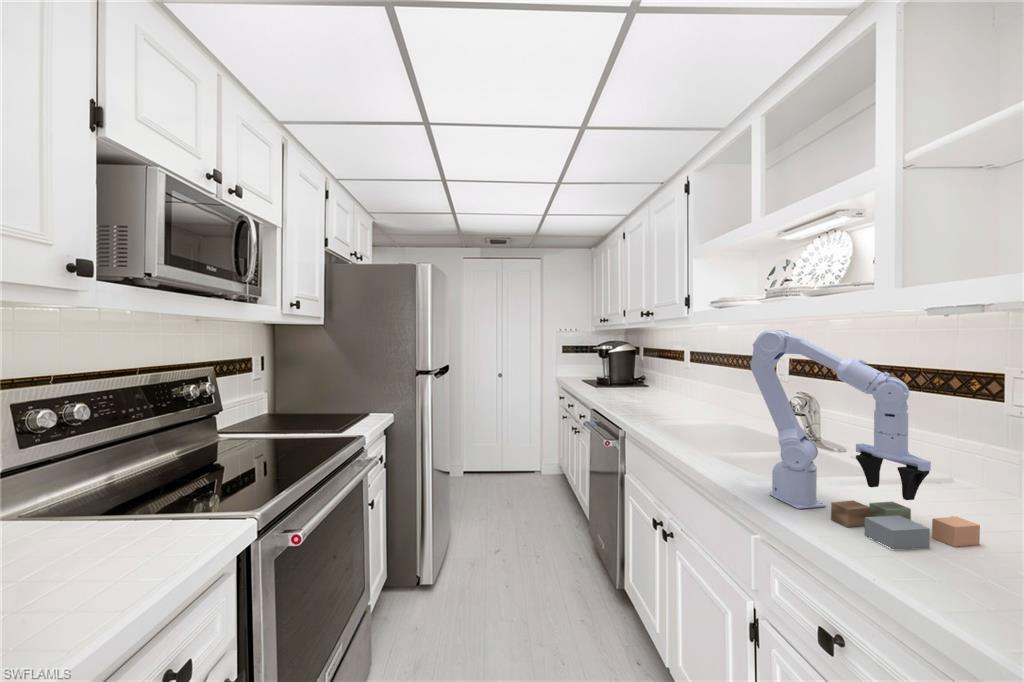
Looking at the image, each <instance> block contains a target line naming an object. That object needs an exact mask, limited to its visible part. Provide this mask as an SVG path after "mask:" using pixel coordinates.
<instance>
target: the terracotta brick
mask: <svg viewBox="0 0 1024 682" xmlns="http://www.w3.org/2000/svg"><path fill="white" fill-rule="evenodd" d="M931 522H932V524H931V525H932V527H931V529H932V530H931V538H933V539H935V540H936V541H938V542H942V543H944V544H946V545H949V546H951V547H953V548H959V547H958V546H960V547H970V546H969V545H971V546H979V545H980V536H981V535H980V534H981V524H978V523H976V522H975V523H974V522H972V521H970V520H967V519H964V518H961V517H959V516H947V517H935V518H932V521H931Z"/></svg>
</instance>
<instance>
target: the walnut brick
mask: <svg viewBox="0 0 1024 682" xmlns="http://www.w3.org/2000/svg"><path fill="white" fill-rule="evenodd" d="M830 506H831V507H830V509H831V510H830V520H831V521H832V522H835V523H837V524H840V525H841V524H842V525H841V526H843V525H844V527H845V526H846V527H845V528H857V527H858V528H859V527H865V517H871V507H869V505H866V504H863V503H860V502H858V501H856V500H853V499H852V500H842V501H841V500H840V501H832V502H831V503H830Z"/></svg>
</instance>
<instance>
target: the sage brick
mask: <svg viewBox="0 0 1024 682" xmlns="http://www.w3.org/2000/svg"><path fill="white" fill-rule="evenodd" d="M868 507H871V517H879V516H899V515H900V516H902V517H904V518H907V519H909V520H911V518H912V517H911V515H912V512H911V511H912V509H911V508H910V507H908V506H905V505H903V504H899V503H897V502H894V501H882V502H880V501H879V502H869V505H868ZM911 521H912V520H911Z"/></svg>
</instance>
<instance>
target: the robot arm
mask: <svg viewBox="0 0 1024 682" xmlns="http://www.w3.org/2000/svg"><path fill="white" fill-rule="evenodd" d="M752 347H753V349H752V355H751V362H750V370H751V372H752V375H753V377H754V379H755V382H756V384H757V386H758V388H759V389H758V390H759V391H760V393H761V396H762V397H763V400H764V402H765V404H766V406H767V407H766V408H767V409H768V412H769V413H770V416H771V418H772V421H773V423H774V425H775V428H776V430H777V433H778V434H777V435H778V443H779V446H780V459H781V461H779V462H777V463H775V464H774V466H773V468H772V471H771V472H772V473H771V474H772V476H771V478H772V479H771V483H772V484H771V485H772V486H771V491H772V492H769V495H770V496H771V497H773V498H775V499H777V500H779V501H782V502H784V503H785V504H787V505H789V506H791V507H793V508H795V509H798V510H800V509H801V510H803V509H812V508H824V507H826V504H825V503H823V502H821V501H819V500H817V488H818V487H817V477H818V475H817V466H816V464H815V462H814V460H815V459H816V458H817V456H818V452H819V451H818V447H817V445H816V444H815V443H814V441H813V440H811V439H810V438H809V437H808V434H807V433H806V431H805V430H804V429H803V428H802V427H801V425H800V423H799V421H798V418H797V416H796V415H795V412H794V409H793V408H792V405H791V403H790V401H789V399H788V396H787V394H786V391H785V390H784V387H783V385H782V383H781V380H780V379H779V376H778V374H777V372H776V369H775V367H776V366H777V364H778V362H780V360H781V358H782V357H783V356H784V355H802V356H803V357H806V358H808V359H810V360H812V361H814V362H816V363H818V364H819V365H822V366H824V367H826V368H828V369H830V370H832V371H834V372H835V374H836V377H837V379H838V380H840V381H841V382H843V383H845V384H846V385H849V386H851V387H852V388H855V389H857V390H858V391H860V392H862V393H864V394H866V395H872V397H873V399H874V400H875V409H874V410H873V445H870V444H868V443H867V444H866V443H856V444H855V452H856V453H858V454H857V455H855V459H856V460H857V462H858V464H859V465H860V467H861V469H862V471H863V473H864V477H865V480H866V483H867V487H868V488H878V487H879V486H880V478H881V477H880V476H881V474H880V473H881V467H882V464H883V461H884V460H886V461H889V462H894V463H897V464H901V465H904V466H897V468H896V469H897V471H898V473H899V476H900V481H901V496H902V499H903V500H905V501H912V500H913V501H914V500H915V497H916V495H917V492H918V490H919V488H920V486H921V484H922V482H923V481H924V479H926V477H927V476H928V475H929V474H930V471H931V469H932V468H931V467H932V465H931V464H932V463H931V461H930V460H928V459H924V458H921V457H919V456H916V455H913V454H911V453H910V451H909V413H908V410H909V409H908V407H909V406H908V402H907V401H908V399H909V395H910V389H909V386H908V385H907V384H906V383H905V382H904V381H902V380H901V379H900V378H899V377H894V376H890V375H891V374H890V373H889V372H887V371H885V372H882V371H880V370H879V369H876V368H874V367H872V366H869V365H867V361H866V360H864V359H862V358H861V359H858V360H857V359H856V358H850V359H843V358H841V357H839V356H837V355H836V354H834V353H832V352H830V351H829V350H826V349H824V348H823V347H821V346H819V345H817V344H815V343H814V342H811V341H810V340H809V339H806V338H804V337H801V336H799V335H796V334H793V333H789V332H788V331H786V330H783V329H776V330H773V329H768V330H765V331H763V332H761V333H760V334H759V335H758V336H757V337H756V339H755V340H754V342H753V343H752Z"/></svg>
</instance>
